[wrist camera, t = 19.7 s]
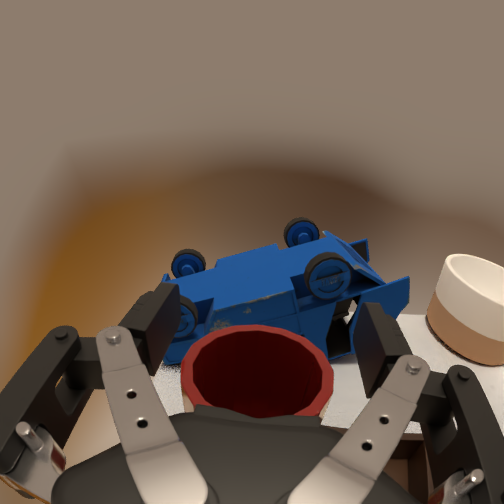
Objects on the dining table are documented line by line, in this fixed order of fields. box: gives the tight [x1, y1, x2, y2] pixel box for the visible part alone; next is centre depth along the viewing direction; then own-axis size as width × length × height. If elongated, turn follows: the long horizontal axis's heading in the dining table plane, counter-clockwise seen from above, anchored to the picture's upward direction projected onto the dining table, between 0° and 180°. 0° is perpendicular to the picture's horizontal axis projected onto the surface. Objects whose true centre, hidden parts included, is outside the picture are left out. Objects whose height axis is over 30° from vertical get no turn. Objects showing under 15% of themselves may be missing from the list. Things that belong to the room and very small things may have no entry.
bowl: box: [427, 254, 504, 365], centre depth 32 cm, size 17×17×8 cm
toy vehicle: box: [161, 217, 410, 365], centre depth 31 cm, size 25×12×12 cm, turn 94°
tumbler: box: [181, 324, 334, 424], centre depth 14 cm, size 6×6×12 cm
